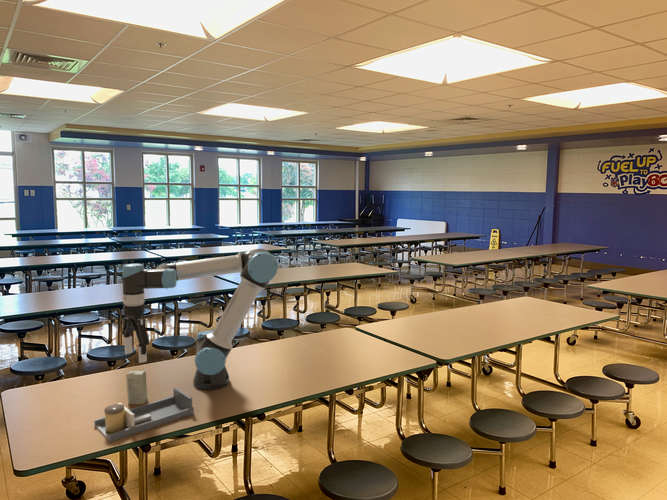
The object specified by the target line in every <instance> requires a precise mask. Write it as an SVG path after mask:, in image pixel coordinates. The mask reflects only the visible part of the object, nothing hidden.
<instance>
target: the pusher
mask: <svg viewBox="0 0 667 500" xmlns="http://www.w3.org/2000/svg"><path fill="white" fill-rule="evenodd" d="M117 404H122V402H118V403H117ZM122 405H124V404H122ZM129 409H130V408H128V407H126V406H125V405H124V423H125V426H126V427H127V428H130V427H133V426H135V424H136V423H139V422H142V421H145V420H148V419H151V415H150V414H146V415H142V416H139V417H136V418H134V414H133V413H132V412H131V411H130V410H129Z"/></svg>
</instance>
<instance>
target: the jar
mask: <svg viewBox="0 0 667 500" xmlns="http://www.w3.org/2000/svg"><path fill="white" fill-rule="evenodd" d="M124 406H125V405H124V404H123V405H122V403H121V404H118V403H117V404H116V403H115V404H110V405H107V406H106V407H105V408H104V417H105V427H106V433H109V434H112V433H115V432H118V431H121V430H124V429H125V423H124Z"/></svg>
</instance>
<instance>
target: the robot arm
mask: <svg viewBox="0 0 667 500" xmlns="http://www.w3.org/2000/svg"><path fill="white" fill-rule="evenodd" d="M277 272H278V262H277V259H276V257H275V256H274V255H273V254H272V253H271V252H270V251H268V250H267V249H265V248H255V249H251V250H250V249H249V250H246V251H238V253H237V254H235V255H227V256H218V257H209V258H203V259H196V260H195V259H194V260H187V261H180V262H171V263H168V262H163V263H160V264H159V265H157V266H156V267H155V268H154V269H153V268H152V269H151V268H150V269H147V268H144V265H143V264H141V263H129V264H125V265H123V266H122V276H121V278H122V279H121V280H122V295H123V296H122V297H121V299H122V300H123V301H122V303H123V309H122V310H123V315H124V316H123V323H122V330H121V335H122V336H123V338H124V340H123V341H124V354H125V355H127V354H131V353H133V331H134V332H135V335H136V338H137V341H138V345H137V347H138V363H139V364H142V363H147V361H148V357H147V356H148V354H147V350H148V349H147V346H148V345H150V340H149V335H148V331H147V326H146V319H144V318H142V317H141V316H142V315H144V314H145V310H146V309H145V289H147V290H148V289H150V290H151V289H174V288H176V287H177V281H183V280H191V279H200V278H208V277H215V276H223V275H230V274H237V273H239V278H240V282H239V284H238V286H237V287H236V288H235V290H234V293H233V295H232V296H231V298H230V300H229V302H228V304H227V305H226V307H225V308H224V311H223V313H222V314H221V315H220V317H219V320H218V321H217V322H216V324H215V327H214V329H211V330H204V331H203V330H202V331H199V332H197V333H196V339H195V340H196V351H195V356H194V363H195V367H196V371H195V374H194V376H193V381H192V382H193V386H194V387H195V388H196V389H199V390H205V391H208V390H218V389H221V388H224V387H226V386H228V384H229V383H230V375H229V372H228V370H227V367H226V362H227V359H228V356H229V354H230V353H231V351H232V349H233V344H232V342H233V340H234V338H235V336H236V335H237V332H238V330H239V329H240V328H241V325H242V323H243V321H244V320H245V319H246V316H247V314H248V312H249V311H250V309H251V307H252V305H253V304H254V302H255V300H256V298H257V296H258V295H259V294H260V292H261V291H263V290H266V288H267V287H268V285H269V284H270V281H271V280H273V279H274V278H275V276H276V275H277Z"/></svg>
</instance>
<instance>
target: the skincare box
mask: <svg viewBox="0 0 667 500" xmlns="http://www.w3.org/2000/svg"><path fill="white" fill-rule="evenodd" d="M146 373H147V372H146V370H130V371H129V372H128V373H126V374H125V377H126V379H125V380H126V390H127V391H126V393H127V403H128V405H145V404H146V402H147V401H148V390H147V389H148V387H147V385H148V384H147V374H146Z"/></svg>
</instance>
